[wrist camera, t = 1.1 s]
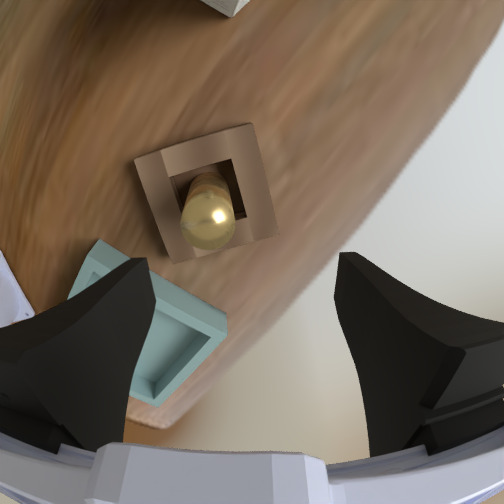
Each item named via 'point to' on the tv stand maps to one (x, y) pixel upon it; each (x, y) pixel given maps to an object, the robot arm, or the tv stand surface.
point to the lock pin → (208, 213)
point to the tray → (162, 329)
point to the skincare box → (227, 6)
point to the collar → (198, 155)
